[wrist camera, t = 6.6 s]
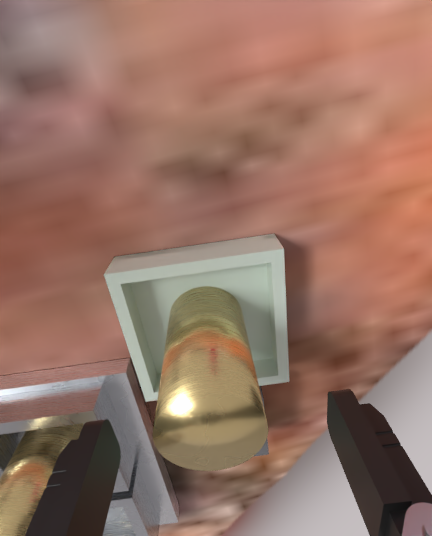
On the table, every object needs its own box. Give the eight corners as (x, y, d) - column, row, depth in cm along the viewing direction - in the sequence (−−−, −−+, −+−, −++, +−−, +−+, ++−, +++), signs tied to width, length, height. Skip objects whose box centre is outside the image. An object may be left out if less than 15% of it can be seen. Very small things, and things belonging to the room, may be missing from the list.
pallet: (-33, 380, 19) (-75, 428, 16) (129, 357, 19) (117, 401, 16) (60, 521, 26) (42, 571, 23) (179, 505, 26) (176, 553, 23)
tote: (114, 256, 16) (103, 274, 14) (274, 233, 16) (283, 248, 14) (150, 375, 20) (145, 401, 18) (280, 357, 19) (289, 381, 18)
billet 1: (19, 413, 19) (-72, 564, 12) (84, 404, 19) (26, 551, 12) (44, 455, 20) (-24, 605, 14) (104, 446, 20) (62, 594, 14)
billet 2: (162, 292, 16) (140, 402, 10) (238, 281, 16) (264, 385, 10) (176, 351, 18) (165, 477, 12) (245, 341, 18) (271, 463, 12)
